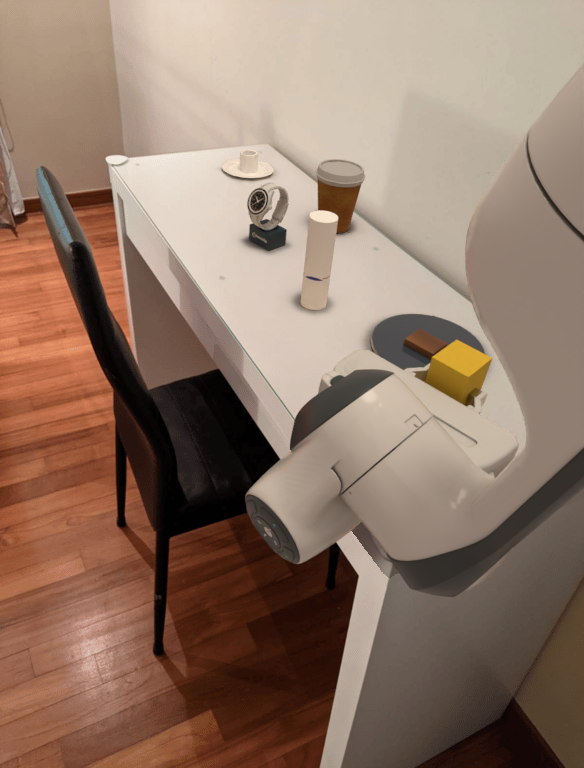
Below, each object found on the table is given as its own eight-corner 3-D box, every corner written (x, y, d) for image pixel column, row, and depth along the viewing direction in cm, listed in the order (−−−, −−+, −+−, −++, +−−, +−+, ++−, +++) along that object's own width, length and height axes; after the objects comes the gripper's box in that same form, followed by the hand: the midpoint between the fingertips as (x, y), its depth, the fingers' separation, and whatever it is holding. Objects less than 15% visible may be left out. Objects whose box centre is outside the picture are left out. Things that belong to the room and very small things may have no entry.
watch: (240, 242, 114) (242, 185, 107) (272, 231, 119) (276, 176, 112) (260, 254, 111) (264, 196, 104) (292, 242, 116) (297, 186, 109)
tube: (318, 294, 102) (329, 209, 93) (331, 307, 99) (343, 220, 90) (295, 298, 100) (304, 212, 91) (307, 312, 98) (318, 224, 88)
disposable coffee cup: (357, 219, 127) (366, 161, 119) (356, 239, 119) (366, 179, 112) (311, 213, 127) (318, 155, 119) (308, 233, 119) (314, 173, 112)
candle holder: (234, 183, 136) (235, 164, 133) (213, 164, 144) (213, 145, 141) (282, 177, 141) (283, 159, 138) (259, 159, 149) (260, 141, 146)
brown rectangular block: (431, 360, 89) (433, 353, 88) (403, 344, 91) (404, 338, 90) (445, 349, 91) (447, 343, 90) (418, 334, 93) (419, 328, 93)
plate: (492, 339, 96) (494, 334, 95) (470, 400, 84) (472, 395, 83) (390, 307, 101) (391, 302, 100) (355, 361, 88) (356, 356, 88)
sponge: (447, 439, 68) (468, 377, 62) (414, 419, 70) (431, 356, 65) (470, 419, 71) (492, 358, 65) (437, 400, 73) (456, 339, 68)
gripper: (484, 478, 53) (554, 408, 61) (310, 367, 63) (389, 320, 71) (466, 524, 57) (533, 452, 65) (304, 413, 67) (380, 363, 75)
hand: (457, 382), depth 68 cm, fingers closed on sponge, 4 cm apart
